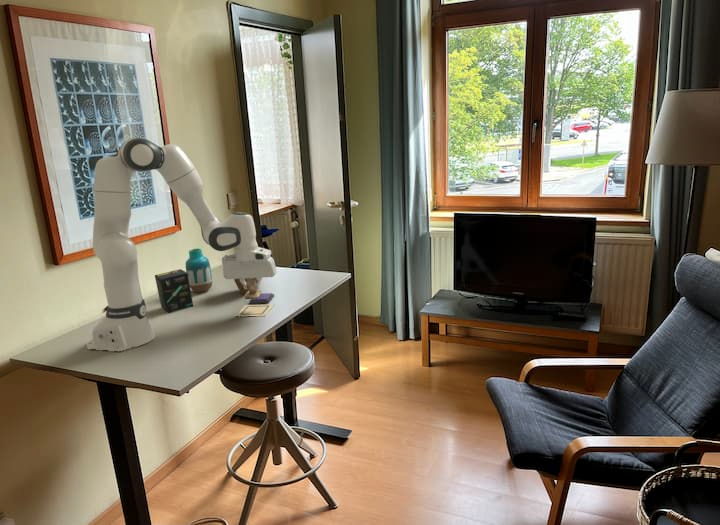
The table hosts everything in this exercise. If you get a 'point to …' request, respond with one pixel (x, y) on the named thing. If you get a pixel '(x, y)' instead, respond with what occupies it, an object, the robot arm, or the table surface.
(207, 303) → the table surface
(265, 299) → the ink pad
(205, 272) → the vase
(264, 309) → the sheet
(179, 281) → the tampon box
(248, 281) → the stamp
